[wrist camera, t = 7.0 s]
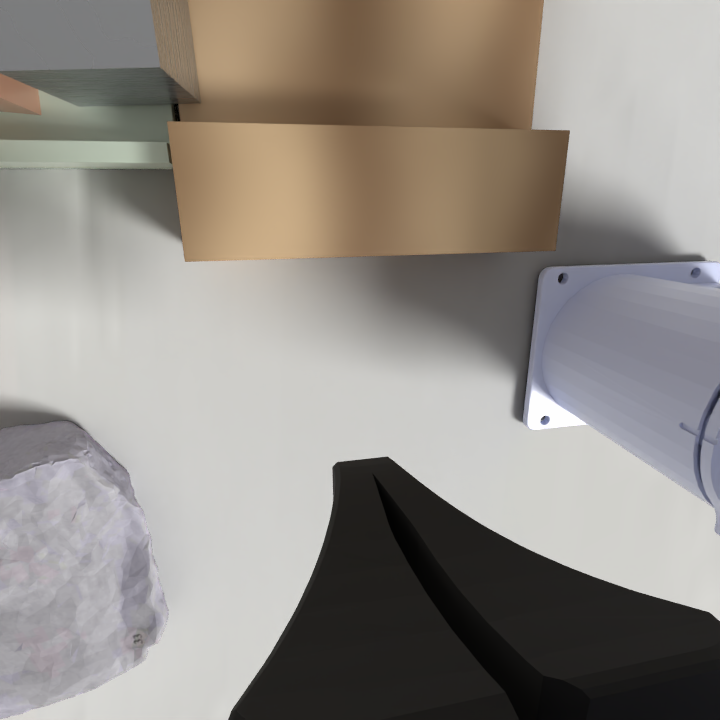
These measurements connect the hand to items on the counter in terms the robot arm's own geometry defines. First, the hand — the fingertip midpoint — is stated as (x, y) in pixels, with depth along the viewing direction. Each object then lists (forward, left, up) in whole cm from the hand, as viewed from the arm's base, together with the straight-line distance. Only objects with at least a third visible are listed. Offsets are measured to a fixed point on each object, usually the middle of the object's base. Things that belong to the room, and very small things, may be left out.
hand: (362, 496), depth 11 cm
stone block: (+12, +8, -10) cm, 18 cm away
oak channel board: (-2, -12, -10) cm, 16 cm away
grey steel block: (+6, -12, -9) cm, 16 cm away
